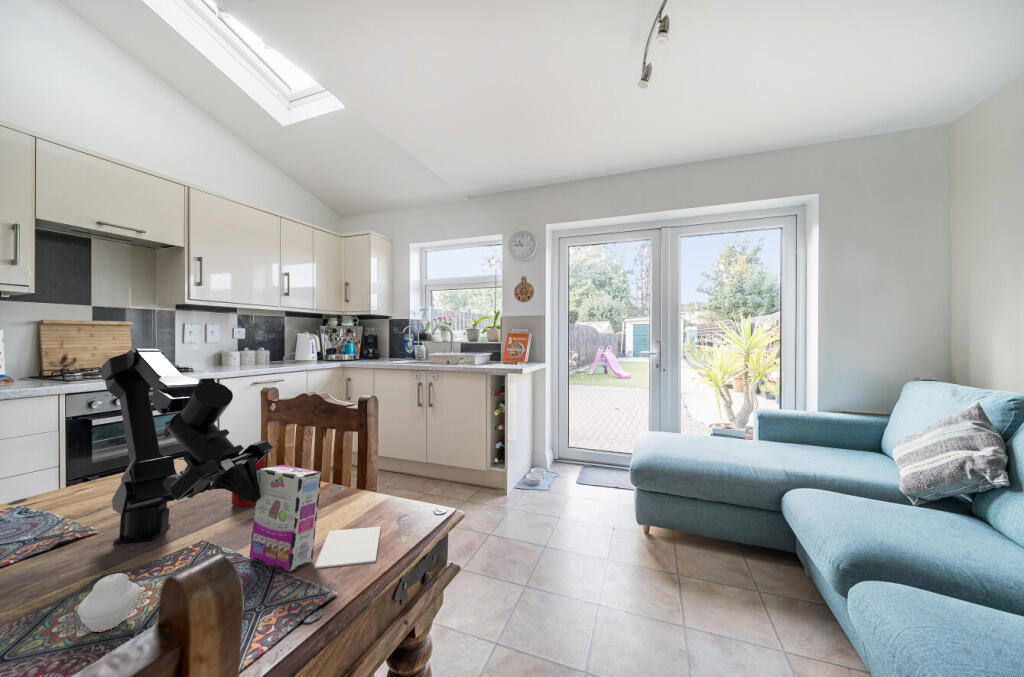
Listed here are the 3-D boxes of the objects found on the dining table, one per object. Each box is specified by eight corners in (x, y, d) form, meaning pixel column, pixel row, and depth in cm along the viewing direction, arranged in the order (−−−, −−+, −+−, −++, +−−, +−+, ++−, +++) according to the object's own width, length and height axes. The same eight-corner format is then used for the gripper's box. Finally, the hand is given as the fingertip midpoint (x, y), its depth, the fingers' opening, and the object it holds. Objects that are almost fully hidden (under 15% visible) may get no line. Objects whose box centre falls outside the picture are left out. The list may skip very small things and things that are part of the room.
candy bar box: (314, 561, 71) (323, 471, 73) (290, 573, 67) (300, 477, 68) (273, 547, 76) (282, 463, 77) (247, 558, 71) (258, 468, 73)
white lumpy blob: (65, 633, 52) (69, 581, 52) (124, 605, 58) (127, 559, 58) (90, 647, 50) (93, 593, 50) (148, 617, 56) (151, 568, 56)
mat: (314, 568, 69) (314, 566, 69) (329, 532, 83) (329, 530, 83) (375, 562, 72) (375, 560, 72) (380, 527, 85) (380, 526, 85)
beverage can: (247, 510, 92) (250, 460, 92) (224, 507, 93) (226, 457, 94) (270, 499, 99) (272, 453, 99) (248, 497, 100) (250, 450, 100)
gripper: (209, 454, 80) (258, 509, 80) (117, 485, 62) (181, 557, 61) (248, 418, 80) (298, 472, 80) (169, 438, 62) (233, 509, 61)
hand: (257, 500), depth 71 cm, fingers closed
